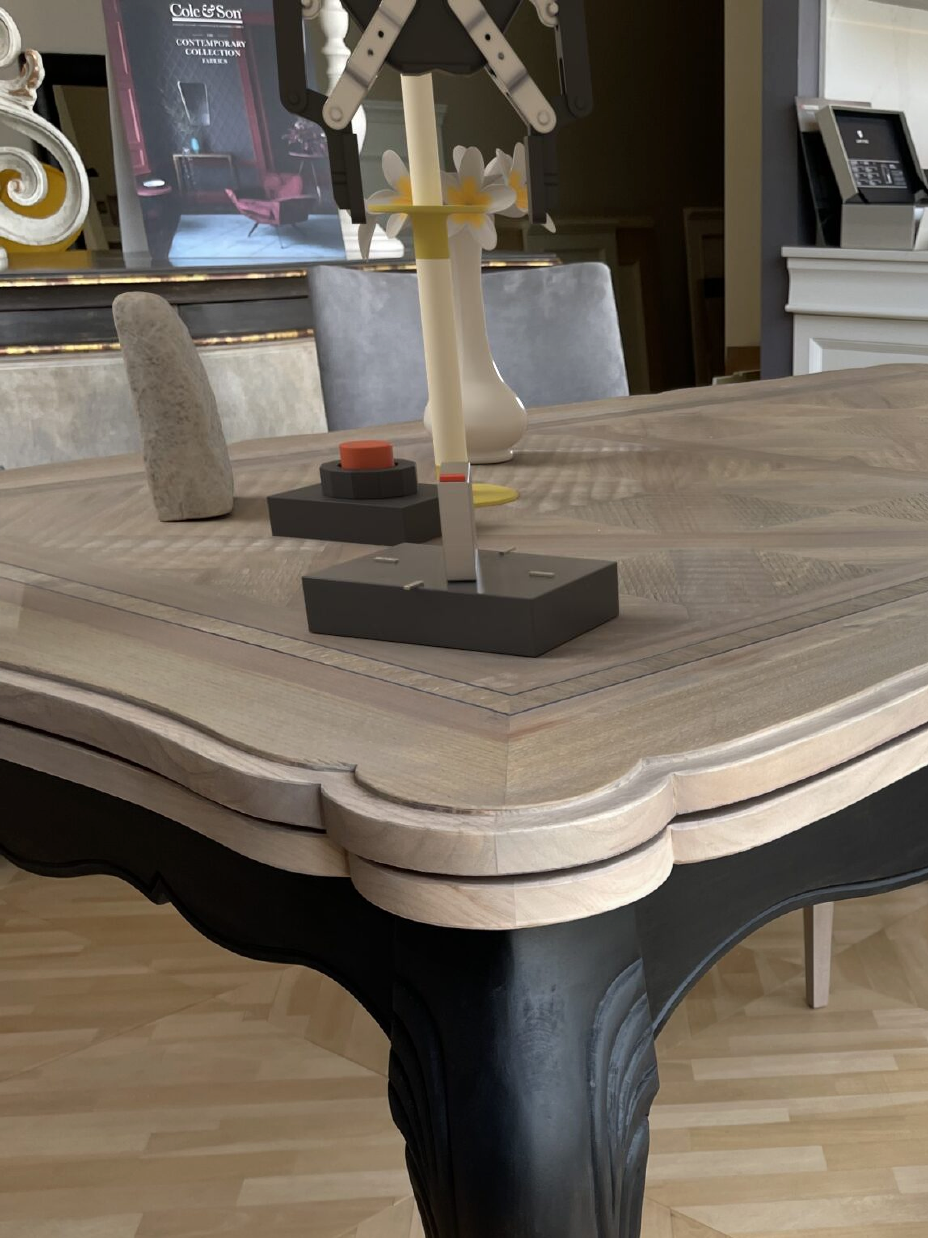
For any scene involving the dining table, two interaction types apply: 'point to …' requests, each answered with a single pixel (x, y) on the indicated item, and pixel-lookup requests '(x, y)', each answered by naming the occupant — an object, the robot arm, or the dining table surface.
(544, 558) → the dark grey slotted base
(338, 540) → the button box
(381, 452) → the button
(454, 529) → the grey box
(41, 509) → the dining table surface
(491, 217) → the flower vase
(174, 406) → the decorative stone
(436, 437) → the candle
